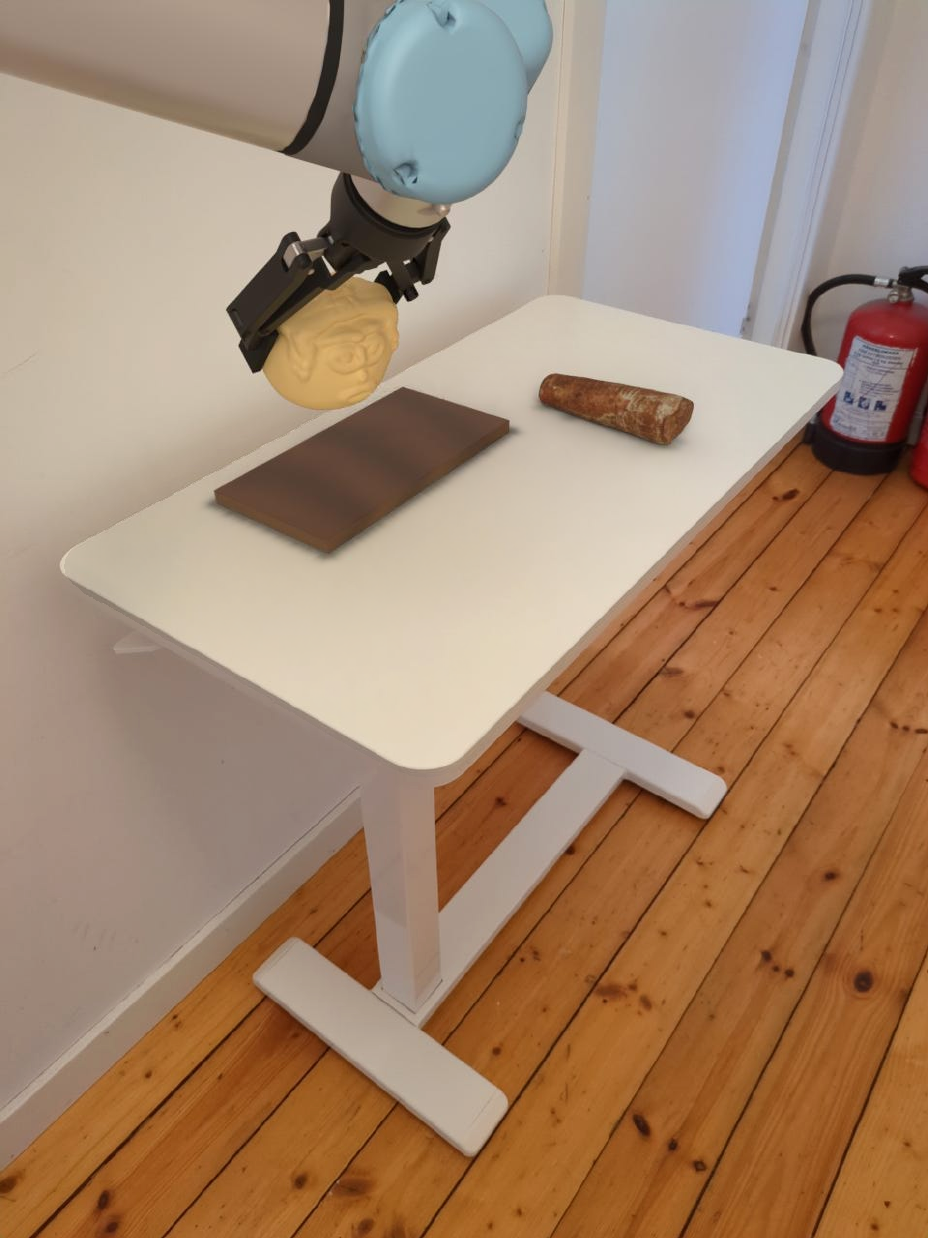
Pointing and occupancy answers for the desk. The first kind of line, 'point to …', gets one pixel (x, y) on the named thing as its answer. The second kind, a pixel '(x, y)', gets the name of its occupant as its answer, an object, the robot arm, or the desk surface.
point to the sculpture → (335, 347)
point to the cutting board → (361, 467)
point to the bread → (619, 406)
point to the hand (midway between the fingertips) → (309, 339)
